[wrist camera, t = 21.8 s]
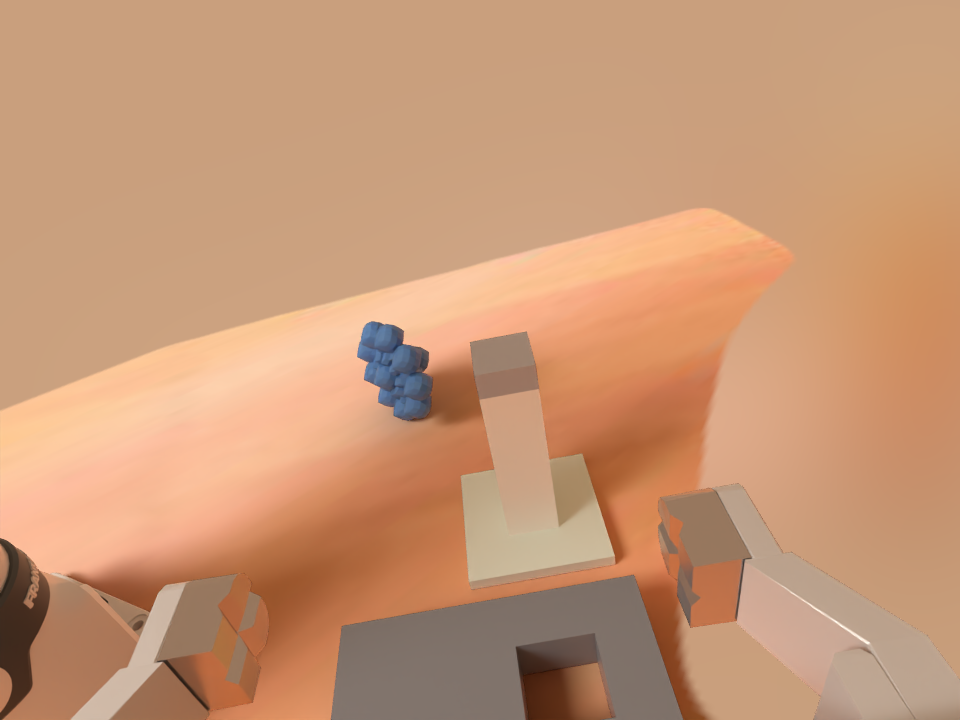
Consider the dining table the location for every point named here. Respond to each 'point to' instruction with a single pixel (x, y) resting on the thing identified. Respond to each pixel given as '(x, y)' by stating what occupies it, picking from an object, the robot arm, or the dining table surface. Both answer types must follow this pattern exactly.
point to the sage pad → (539, 551)
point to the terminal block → (503, 656)
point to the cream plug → (515, 431)
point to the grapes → (396, 370)
